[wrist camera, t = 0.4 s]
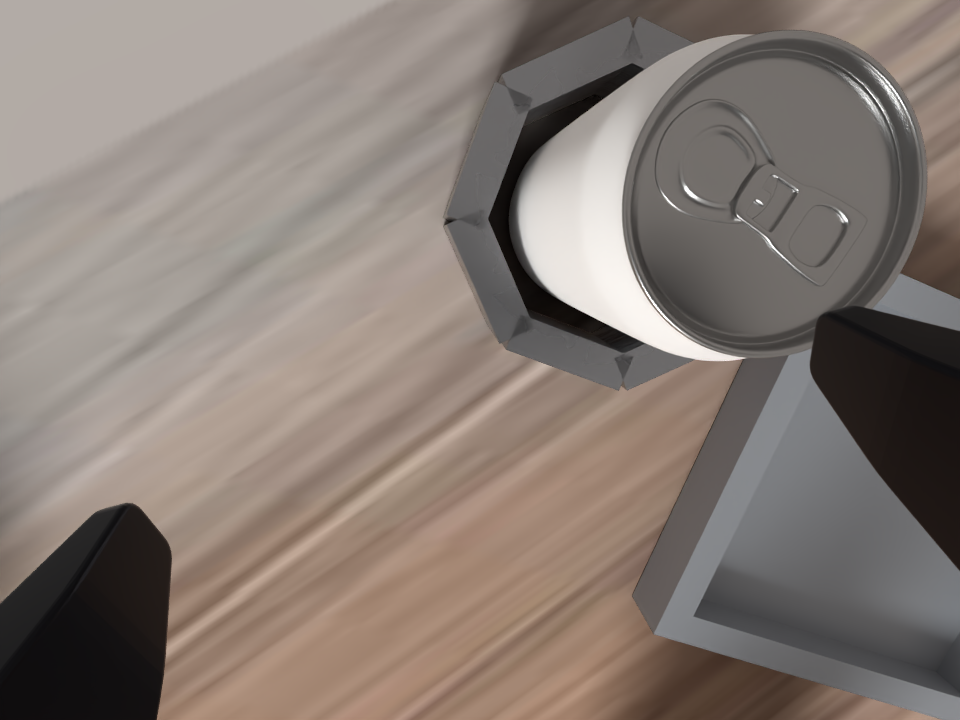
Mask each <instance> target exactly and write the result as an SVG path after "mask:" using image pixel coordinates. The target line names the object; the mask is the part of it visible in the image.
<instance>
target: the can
mask: <svg viewBox="0 0 960 720" xmlns="http://www.w3.org/2000/svg"><path fill="white" fill-rule="evenodd" d="M926 193H927V160H926V152H925V146H924V141H923V137H922V133H921V129H920V126H919V123H918V120H917V117H916V115H915V113H914V110H913V108H912V106H911V104H910V102H909V100H908V98H907V97H906V95H905V93H904V92H903V90H902V89H901V87H900V86H899V84H898V83H897V82H896V80H895V79H894V78H893V77H892V76H891V74H890V73H889V72H888V71H887V70H886V69H885V68H884V67H883V66H882V65H881V64H880V63H879V62H877V61H876V60H875V59H874V58H872V57H871V56H870V55H868V54H867V53H866V52H864V51H863V50H861V49H859V48H858V47H856V46H854V45H852V44H850V43H848V42H846V41H843V40H841V39H839V38H836V37H833V36H830V35H826V34H822V33H818V32H812V31H804V30H779V31H770V32H764V33H759V34H755V35H752V34H738V35H727V36H721V37H715V38H711V39H707V40H704V41H700V42H697V43H694V44H692V45H689V46H687V47H685V48H682V49H680V50H678V51H675V52H673V53H671V54H669V55H668V56H666V57H664V58H662V59H661V60H659V61H657V62H656V63H654V64H653V65H651V66H649V67H648V68H646V69H645V70H643V71H642V72H640V73H639V74H638V75H636V76H635V77H633V78H632V79H630V80H629V81H628V82H626V83H625V84H623V85H622V86H621V87H619V88H618V89H617V90H615V91H614V92H613V93H611V94H610V95H608V96H607V97H606V98H604V99H603V100H602V101H600V102H599V103H597V104H596V105H595V106H593V107H592V108H591V109H589V110H588V111H587V112H585V113H584V114H583V115H581V116H580V117H579V118H577V119H576V120H575V121H573V122H572V123H571V124H569V125H568V126H567V127H565V128H564V129H563V130H561V131H560V132H559V133H557V134H556V135H555V136H554V137H552V138H551V139H550V140H548V141H547V142H546V143H545V144H543V145H542V146H541V147H540V148H539V149H538V150H537V151H536V152H535V153H534V154H533V155H532V156H531V158H530V159H529V160H528V162H527V163H526V165H525V167H524V168H523V170H522V172H521V174H520V176H519V178H518V181H517V183H516V186H515V189H514V192H513V195H512V199H511V203H510V209H509V230H510V236H511V241H512V245H513V248H514V251H515V253H516V256H517V258H518V260H519V262H520V264H521V265H522V267H523V269H524V270H525V271H526V273H527V274H528V275H529V277H530V278H531V279H532V280H533V281H534V282H535V283H536V284H537V285H538V286H539V287H541V288H542V289H543V290H544V291H546V292H547V293H549V294H550V295H552V296H554V297H555V298H557V299H559V300H561V301H563V302H564V303H566V304H568V305H570V306H572V307H574V308H576V309H578V310H580V311H582V312H584V313H586V314H588V315H590V316H591V317H593V318H595V319H597V320H599V321H601V322H603V323H605V324H607V325H609V326H611V327H613V328H615V329H617V330H619V331H621V332H623V333H625V334H627V335H629V336H631V337H633V338H636V339H638V340H640V341H642V342H644V343H646V344H648V345H651V346H653V347H655V348H658V349H660V350H663V351H665V352H668V353H671V354H674V355H678V356H682V357H687V358H691V359H697V360H705V361H731V360H739V359H745V358H774V357H781V356H787V355H791V354H796V353H799V352H803V351H806V350H808V349H811V348H812V344H813V338H814V332H815V326H816V322H817V320H818V318H819V317H820V315H821V314H823V313H825V312H827V311H831V310H835V309H838V308H842V307H846V306H851V305H856V306H861V307H865V308H869V309H872V308H873V307H874V306H875V305H876V304H877V303H878V302H879V301H880V300H881V299H882V297H883V296H884V295H885V294H886V293H887V291H888V290H889V289H890V287H891V286H892V285H893V283H894V282H895V280H896V279H897V277H898V275H899V274H900V272H901V271H902V269H903V267H904V265H905V263H906V261H907V259H908V257H909V255H910V253H911V251H912V249H913V246H914V244H915V241H916V238H917V235H918V232H919V229H920V226H921V222H922V218H923V213H924V208H925V202H926Z"/></svg>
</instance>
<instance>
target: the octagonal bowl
mask: <svg viewBox="0 0 960 720" xmlns="http://www.w3.org/2000/svg"><path fill="white" fill-rule="evenodd" d="M692 44H694V43H693V42H691V41H689V40H687V39H685V38H683V37H681V36H679V35H677V34H674V33H672V32H670V31H668V30H666V29H664V28H662V27H660V26H658V25H656V24H654V23H652V22H650V21H647V20H645V19H643V18H641V17H639V16H638V17H637V18H636V19H635V20H634V21H633V22H632V23H631V21H630V18H629V16H628V17H626V18H624V19H621V20H619V21H617V22H615V23H613V24H610V25H608V26H606V27H604V28H602V29H600V30H597V31H595V32H593V33H591V34H589V35H586V36H584V37H582V38H580V39H578V40H575V41H573V42H571V43H569V44H567V45H565V46H562V47H560V48H558V49H556V50H554V51H551V52H549V53H547V54H545V55H543V56H540V57H538V58H536V59H534V60H532V61H529V62H527V63H525V64H523V65H521V66H519V67H516V68H514V69H512V70H510V71H508V72H505V73H503V74H502V75H501V77H500V79H499V81H498V83H497V82H495V83H494V85H493V87H492V89H491V92H490V94H489V96H488V98H487V100H486V103H485V105H484V107H483V109H482V112H481V114H480V117H479V120H478V123H477V125H476V128H475V131H474V134H473V136H472V139H471V142H470V145H469V147H468V150H467V153H466V156H465V158H464V161H463V164H462V167H461V170H460V172H459V175H458V178H457V181H456V183H455V186H454V189H453V192H452V194H451V197H450V200H449V203H448V205H447V208H446V211H445V214H444V216H443V218H444V219H447V220H449V221H452V222H451V223H449V224H447V225H444V226H443V227H444V229H445V231H446V234H447V236H448V238H449V240H450V243H451V245H452V247H453V249H454V252H455V254H456V256H457V258H458V261H459V263H460V265H461V267H462V269H463V272H464V274H465V276H466V278H467V281H468V283H469V285H470V287H471V290H472V292H473V294H474V296H475V299H476V301H477V303H478V305H479V308H480V310H481V312H482V314H483V317H484V319H485V321H486V323H487V325H488V327H489V328H490V330H491V331H492V333H493V334H494V336H495V337H496V339H497V340H498V342H499V343H502V344H503V346H504V347H505V349H506V350H509V351H511V352H514V353H517V354H520V355H522V356H525V357H528V358H531V359H533V360H536V361H539V362H541V363H544V364H547V365H550V366H552V367H555V368H558V369H561V370H563V371H566V372H569V373H572V374H574V375H577V376H580V377H582V378H585V379H588V380H591V381H593V382H596V383H599V384H602V385H604V386H607V387H610V388H613V389H615V390H618V391H619V389H620V387H621V386H622V387H624V388H625V389H626V390H629V389H631V388H633V387H636V386H638V385H640V384H642V383H644V382H647V381H649V380H651V379H653V378H656V377H658V376H660V375H662V374H664V373H667V372H669V371H671V370H673V369H675V368H678V367H680V366H682V365H684V364H686V363H689V362H691V361H693V360H695V359H691V358H687V357H682V356H678V355H674V354H671V353H668V352H665V351H663V350H660V349H658V348H655V347H653V346H651V345H648V344H646V343H644V342H642V341H640V340H638V339H636V338H633V337H631V336H629V335H627V334H625V333H623V332H621V331H619V330H617V329H615V328H613V327H611V326H609V325H607V326H605V327H602V328H600V329H598V330H596V331H594V332H591V333H589V332H587V331H584V330H582V329H579V328H576V327H574V326H571V325H568V324H566V323H563V322H560V321H558V320H555V319H553V318H550V317H547V316H545V315H542V314H539V313H537V312H534V311H531V310H529V309H526V307H525V305H524V303H523V300H522V298H521V296H520V293H519V291H518V289H517V286H516V284H515V281H514V279H513V277H512V274H511V272H510V270H509V267H508V265H507V263H506V260H505V258H504V256H503V253H502V251H501V249H500V246H499V244H498V242H497V239H496V237H495V234H494V232H493V230H492V227H491V225H490V223H489V220H488V217H489V215H490V212H491V209H492V207H493V204H494V201H495V199H496V196H497V193H498V191H499V188H500V185H501V183H502V180H503V177H504V175H505V172H506V169H507V167H508V164H509V161H510V159H511V156H512V154H513V151H514V148H515V146H516V143H517V140H518V138H519V135H520V132H521V130H522V127H523V126H526V125H528V124H530V123H532V122H534V121H536V120H539V119H541V118H543V117H545V116H547V115H550V114H552V113H554V112H556V111H558V110H561V109H563V108H565V107H567V106H569V105H572V104H574V103H576V102H578V101H580V100H583V99H585V98H587V97H589V96H591V95H593V94H595V95H597V96H599V97H602V98H606V97H607V96H608V95H610V94H611V93H613V92H614V91H615V90H617V89H618V88H619V87H621V86H622V85H623V84H625V83H626V82H628V81H629V80H630V79H632V78H633V77H635V76H636V75H638V74H639V73H640V72H642V71H643V70H645V69H646V68H648V67H649V66H651V65H653V64H654V63H656V62H657V61H659V60H661V59H662V58H664V57H666V56H668V55H669V54H671V53H673V52H675V51H678V50H680V49H682V48H685V47H687V46H689V45H692Z"/></svg>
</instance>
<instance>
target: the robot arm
mask: <svg viewBox="0 0 960 720" xmlns="http://www.w3.org/2000/svg"><path fill="white" fill-rule="evenodd" d="M810 372H811V375H812V378H813V380H814V381H815V383H816V385H817V386H818V388H819V389H820V391H821V392H822V394H823V395H824V396H825V398H826V399H827V401H828V402H829V404H830V405H831V407H832V408H833V410H834V411H835V413H836V414H837V416H838V417H839V419H840V420H841V421H842V423H843V424H844V426H845V427H846V429H847V430H848V432H849V433H850V435H851V436H852V438H853V439H854V441H855V442H856V444H857V445H858V446H859V448H860V449H861V451H862V452H863V454H864V455H865V457H866V458H867V460H868V461H869V462H870V464H871V465H872V466H873V468H874V469H875V471H876V472H877V473H878V475H879V476H880V477H881V478H882V480H883V481H884V482H885V483H886V485H887V486H888V487H889V488H890V490H891V491H892V492H893V493H894V494H895V495H896V497H897V498H898V499H899V500H900V501H901V502H902V504H903V505H904V506H905V507H906V508H907V510H908V511H909V512H910V513H911V514H912V515H913V517H914V518H915V519H916V520H917V521H918V523H919V524H920V525H921V526H922V527H923V528H924V530H925V531H926V532H927V533H928V534H929V536H930V537H931V538H932V539H933V540H934V541H935V543H936V544H937V545H938V546H939V547H940V549H941V550H942V551H943V552H944V553H945V554H946V556H947V557H948V558H949V559H950V560H951V562H952V563H953V564H954V565H955V566H956V567H957V569H958V570H959V571H960V331H958V330H954V329H950V328H946V327H942V326H938V325H934V324H930V323H926V322H922V321H917V320H913V319H909V318H905V317H901V316H897V315H893V314H889V313H885V312H881V311H877V310H873V309H869V308H865V307H861V306H856V305H851V306H846V307H842V308H838V309H835V310H831V311H827V312H825V313H823V314H821V315H820V317H819V318H818V320H817V322H816V326H815V332H814V338H813V344H812V350H811V356H810ZM171 564H172V556H171V550H170V546H169V544H168V542H167V540H166V539H165V538H164V536H163V535H162V534H161V533H160V531H159V530H158V529H157V528H156V527H155V525H154V524H153V523H152V522H151V521H150V519H149V518H148V517H147V516H146V514H145V513H144V512H143V511H142V510H141V509H140V508H139V507H138V506H137V505H135V504H133V503H124V504H120V505H116V506H113V507H109V508H105V509H102V510H99V511H97V512H95V513H94V514H93V515H92V516H91V517H90V518H88V519H87V520H86V521H85V522H84V523H83V524H82V525H81V526H80V527H79V528H78V529H77V530H76V531H75V532H74V533H73V534H72V535H71V536H70V537H69V538H68V539H67V540H66V541H65V542H64V543H63V544H62V545H61V546H60V547H58V548H57V549H56V550H55V551H54V552H53V553H52V554H51V555H50V556H49V557H48V558H47V559H46V560H45V561H44V562H43V563H42V564H41V565H40V566H39V567H38V568H37V569H36V570H35V571H34V572H33V573H32V574H31V575H30V576H28V577H27V578H26V579H25V580H24V581H23V582H22V583H21V584H20V585H19V586H18V587H17V588H16V589H15V590H14V591H13V592H12V593H11V594H10V595H9V596H8V597H7V598H6V599H5V600H4V601H3V602H2V603H1V604H0V720H157V715H158V709H159V703H160V697H161V690H162V684H163V677H164V668H165V658H166V643H167V627H168V611H169V596H170V580H171Z"/></svg>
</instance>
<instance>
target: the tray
mask: <svg viewBox="0 0 960 720" xmlns="http://www.w3.org/2000/svg"><path fill="white" fill-rule="evenodd" d="M872 309H873V310H877V311H881V312H885V313H889V314H893V315H897V316H901V317H905V318H909V319H913V320H917V321H922V322H926V323H930V324H934V325H938V326H942V327H946V328H950V329H954V330H958V331H960V299H958V298H956V297H953V296H951V295H949V294H947V293H944V292H942V291H940V290H937V289H935V288H933V287H931V286H928V285H926V284H924V283H921V282H919V281H917V280H915V279H912V278H910V277H908V276H905V275H903V274H901V273H900V274H899V275H898V277H897V279H896V280H895V282H894V283H893V285H892V286H891V287H890V289H889V290H888V291H887V293H886V294H885V295H884V296H883V297H882V299H881V300H880V301H879V302H878V303H877V304H876V305H875V306H874V307H873V308H872ZM811 350H812V348H811V349H808V350H806V351H803V352H799V353H796V354H791V355H787V356H781V357H774V358H745V359H744V360H743V362H742V364H741V366H740V368H739V370H738V372H737V375H736V377H735V379H734V381H733V383H732V385H731V387H730V389H729V392H728V394H727V396H726V398H725V400H724V402H723V404H722V406H721V408H720V411H719V413H718V415H717V417H716V419H715V421H714V423H713V425H712V428H711V430H710V432H709V434H708V436H707V438H706V440H705V442H704V445H703V447H702V449H701V451H700V453H699V455H698V457H697V459H696V462H695V464H694V466H693V468H692V470H691V472H690V474H689V476H688V478H687V481H686V483H685V485H684V487H683V489H682V491H681V493H680V495H679V498H678V500H677V502H676V504H675V506H674V508H673V510H672V512H671V515H670V517H669V519H668V521H667V523H666V525H665V527H664V529H663V532H662V534H661V536H660V538H659V540H658V542H657V544H656V546H655V549H654V551H653V553H652V555H651V557H650V559H649V561H648V563H647V565H646V568H645V570H644V572H643V574H642V576H641V578H640V580H639V582H638V585H637V587H636V589H635V591H634V593H633V595H632V597H633V599H634V600H635V602H636V604H637V606H638V607H639V609H640V611H641V613H642V614H643V616H644V618H645V620H646V621H647V623H648V625H649V627H650V629H651V630H652V632H653V634H655V635H658V636H661V637H665V638H668V639H672V640H675V641H678V642H682V643H685V644H688V645H692V646H695V647H699V648H702V649H705V650H709V651H712V652H715V653H719V654H722V655H726V656H729V657H732V658H736V659H739V660H743V661H746V662H749V663H753V664H756V665H759V666H763V667H766V668H770V669H773V670H776V671H780V672H783V673H786V674H790V675H793V676H797V677H800V678H803V679H807V680H810V681H814V682H817V683H820V684H824V685H827V686H830V687H834V688H837V689H841V690H844V691H847V692H851V693H854V694H857V695H861V696H864V697H868V698H871V699H874V700H878V701H881V702H885V703H888V704H891V705H895V706H898V707H901V708H905V709H908V710H912V711H915V712H918V713H922V714H925V715H928V716H932V717H935V718H939V719H942V720H960V571H959V570H958V569H957V567H956V566H955V565H954V564H953V563H952V562H951V560H950V559H949V558H948V557H947V556H946V554H945V553H944V552H943V551H942V550H941V549H940V547H939V546H938V545H937V544H936V543H935V541H934V540H933V539H932V538H931V537H930V536H929V534H928V533H927V532H926V531H925V530H924V528H923V527H922V526H921V525H920V524H919V523H918V521H917V520H916V519H915V518H914V517H913V515H912V514H911V513H910V512H909V511H908V510H907V508H906V507H905V506H904V505H903V504H902V502H901V501H900V500H899V499H898V498H897V497H896V495H895V494H894V493H893V492H892V491H891V490H890V488H889V487H888V486H887V485H886V483H885V482H884V481H883V480H882V478H881V477H880V476H879V475H878V473H877V472H876V471H875V469H874V468H873V466H872V465H871V464H870V462H869V461H868V460H867V458H866V457H865V455H864V454H863V452H862V451H861V449H860V448H859V446H858V445H857V444H856V442H855V441H854V439H853V438H852V436H851V435H850V433H849V432H848V430H847V429H846V427H845V426H844V424H843V423H842V421H841V420H840V419H839V417H838V416H837V414H836V413H835V411H834V410H833V408H832V407H831V405H830V404H829V402H828V401H827V399H826V398H825V396H824V395H823V394H822V392H821V391H820V389H819V388H818V386H817V385H816V383H815V381H814V380H813V378H812V375H811V372H810V356H811Z"/></svg>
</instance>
